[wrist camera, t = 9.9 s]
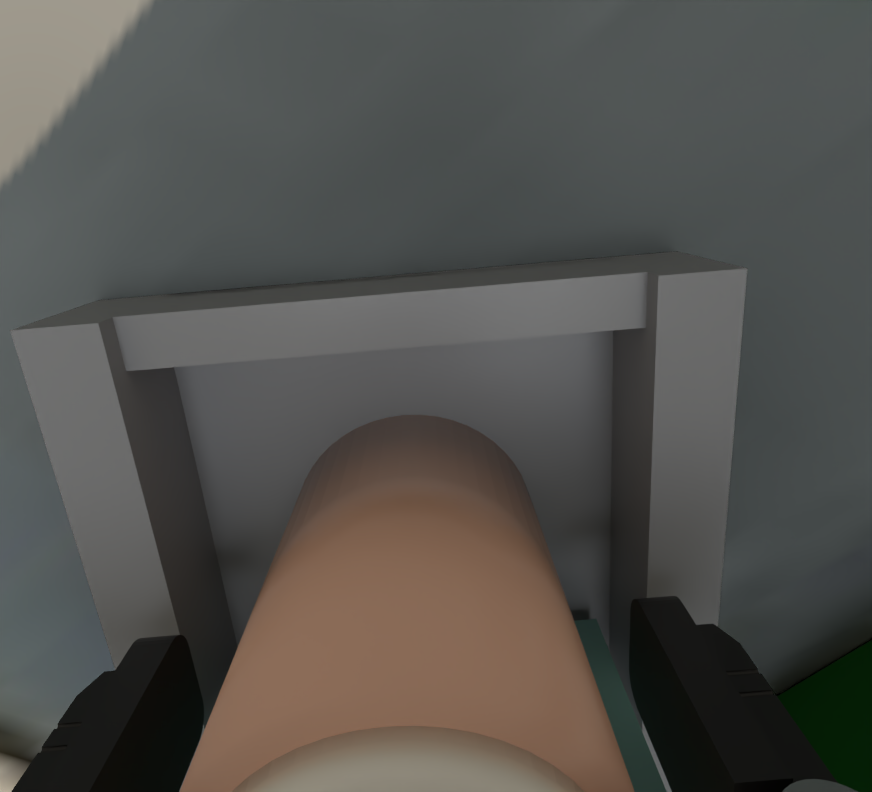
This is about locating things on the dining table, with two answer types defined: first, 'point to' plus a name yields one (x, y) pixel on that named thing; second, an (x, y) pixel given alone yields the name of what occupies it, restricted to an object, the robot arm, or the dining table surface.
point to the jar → (410, 636)
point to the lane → (387, 397)
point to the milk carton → (838, 716)
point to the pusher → (619, 710)
